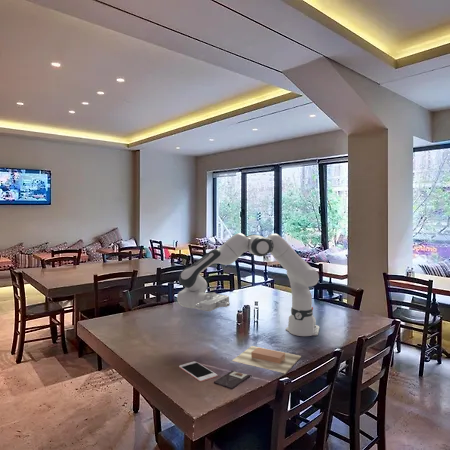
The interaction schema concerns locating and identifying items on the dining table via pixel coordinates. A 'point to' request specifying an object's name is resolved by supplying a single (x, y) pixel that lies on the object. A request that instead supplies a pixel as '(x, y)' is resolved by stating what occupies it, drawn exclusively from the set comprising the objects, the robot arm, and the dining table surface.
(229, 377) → the chocolate bar
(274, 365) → the board
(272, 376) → the dining table surface
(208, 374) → the cell phone
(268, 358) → the tile
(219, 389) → the dining table surface
